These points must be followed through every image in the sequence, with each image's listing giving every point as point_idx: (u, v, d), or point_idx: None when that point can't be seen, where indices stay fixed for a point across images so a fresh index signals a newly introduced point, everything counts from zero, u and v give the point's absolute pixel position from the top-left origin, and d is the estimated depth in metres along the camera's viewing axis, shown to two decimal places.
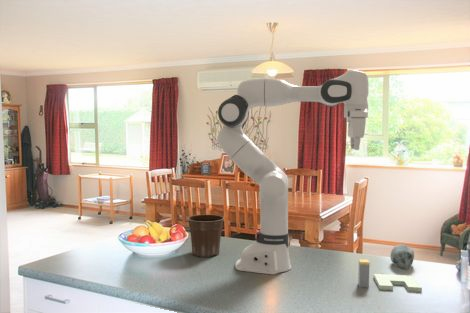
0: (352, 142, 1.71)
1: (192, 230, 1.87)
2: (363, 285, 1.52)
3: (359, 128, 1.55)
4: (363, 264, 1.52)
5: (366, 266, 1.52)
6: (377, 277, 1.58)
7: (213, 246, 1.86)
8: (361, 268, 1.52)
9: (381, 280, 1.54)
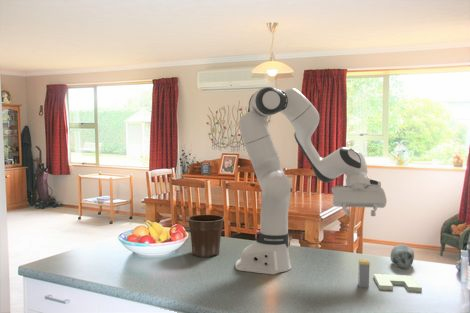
0: None
1: (192, 230, 1.87)
2: (363, 285, 1.52)
3: None
4: (363, 264, 1.52)
5: (366, 266, 1.52)
6: (377, 277, 1.58)
7: (213, 246, 1.86)
8: (361, 268, 1.52)
9: (381, 280, 1.54)
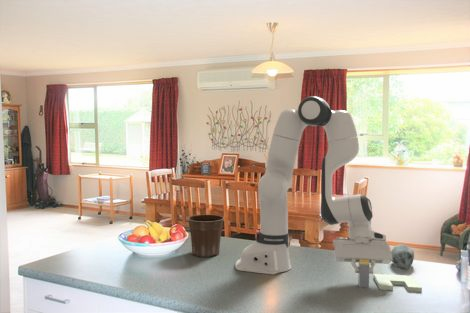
0: None
1: (192, 230, 1.87)
2: (363, 285, 1.52)
3: None
4: (363, 264, 1.52)
5: (366, 266, 1.52)
6: (377, 277, 1.58)
7: (213, 246, 1.86)
8: (361, 268, 1.52)
9: (381, 280, 1.54)
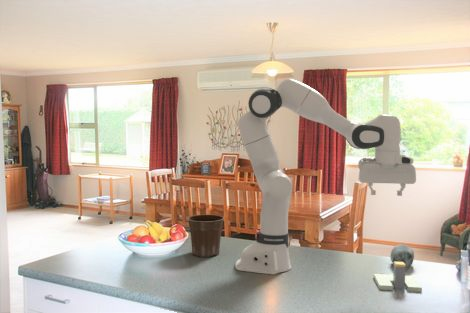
0: (372, 188, 1.61)
1: (192, 230, 1.87)
2: (399, 288, 1.50)
3: None
4: (399, 266, 1.49)
5: (402, 269, 1.49)
6: (377, 277, 1.58)
7: (213, 246, 1.86)
8: (397, 270, 1.50)
9: (381, 280, 1.54)
